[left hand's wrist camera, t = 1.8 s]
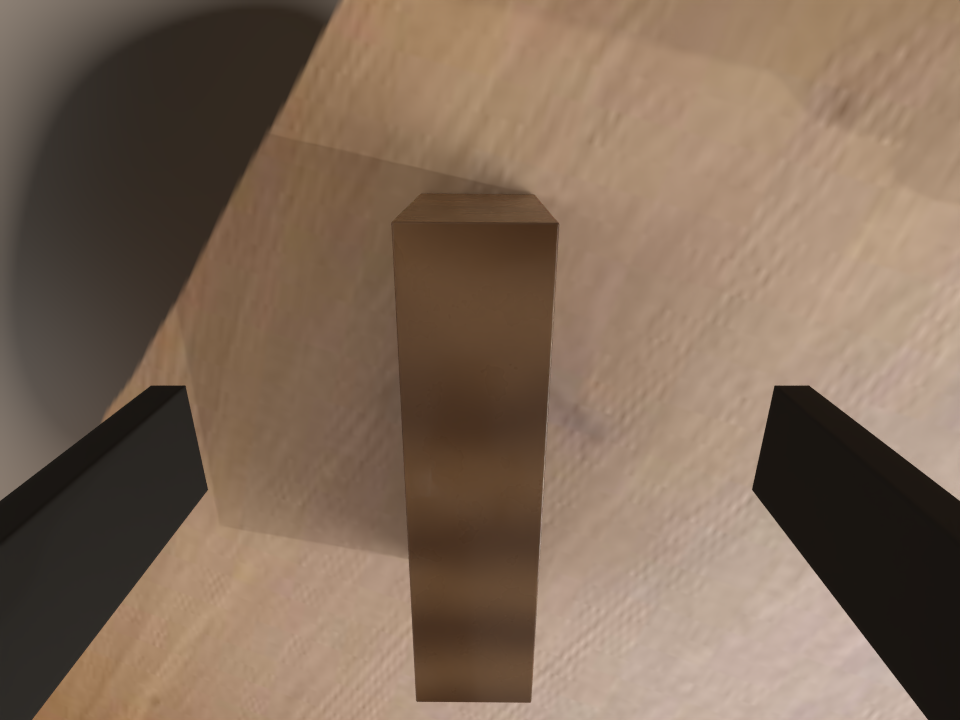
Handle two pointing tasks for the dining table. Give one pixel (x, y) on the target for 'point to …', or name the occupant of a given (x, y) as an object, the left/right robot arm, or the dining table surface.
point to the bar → (474, 434)
